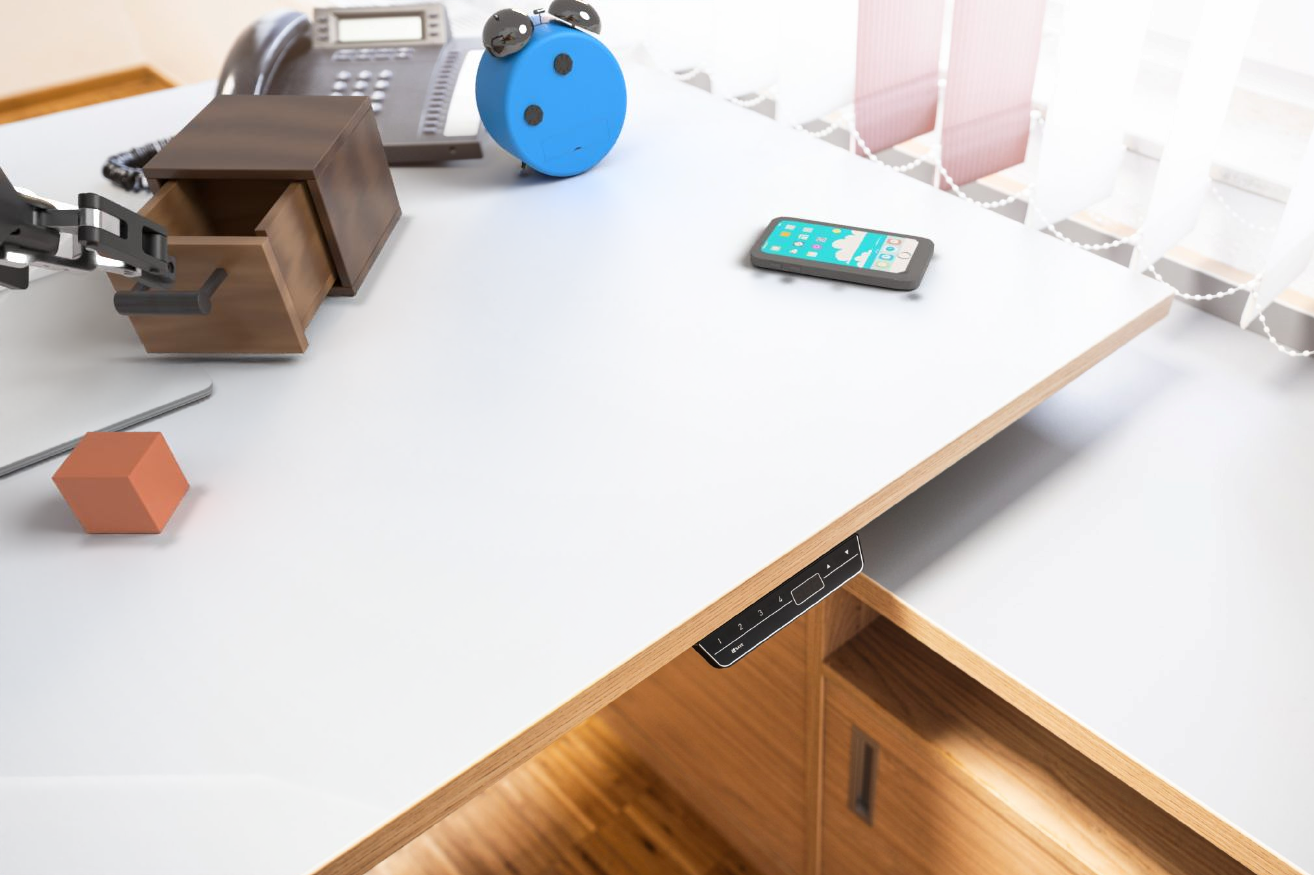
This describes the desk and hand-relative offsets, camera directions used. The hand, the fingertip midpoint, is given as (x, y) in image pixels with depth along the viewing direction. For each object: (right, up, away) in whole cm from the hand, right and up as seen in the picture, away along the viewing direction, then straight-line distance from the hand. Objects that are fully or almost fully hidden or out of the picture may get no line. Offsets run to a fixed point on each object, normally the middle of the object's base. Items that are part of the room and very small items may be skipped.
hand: (95, 273), depth 63 cm
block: (0, -14, +3) cm, 14 cm away
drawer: (-1, +1, +18) cm, 17 cm away
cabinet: (-1, +9, +27) cm, 29 cm away
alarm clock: (+18, +21, +41) cm, 49 cm away
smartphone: (+45, +9, +29) cm, 55 cm away
